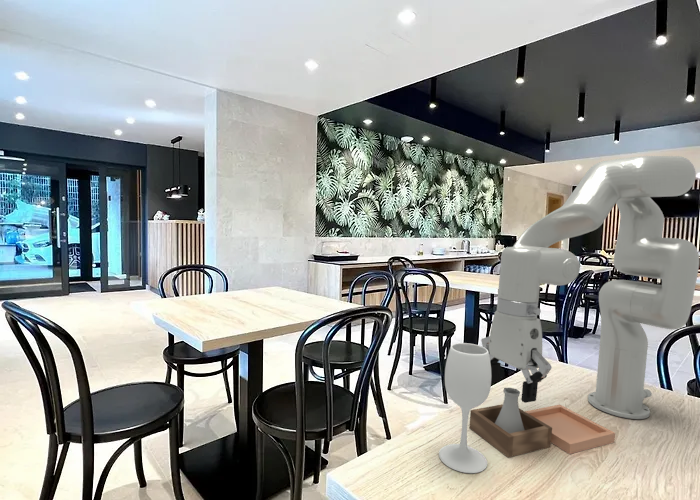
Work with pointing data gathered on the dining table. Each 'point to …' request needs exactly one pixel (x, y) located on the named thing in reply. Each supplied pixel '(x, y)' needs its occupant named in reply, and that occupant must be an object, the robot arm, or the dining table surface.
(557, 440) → the terracotta tray
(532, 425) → the frame
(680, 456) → the dining table surface
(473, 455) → the wineglass
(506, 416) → the flask
